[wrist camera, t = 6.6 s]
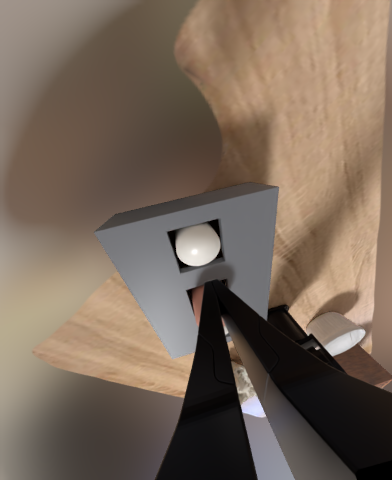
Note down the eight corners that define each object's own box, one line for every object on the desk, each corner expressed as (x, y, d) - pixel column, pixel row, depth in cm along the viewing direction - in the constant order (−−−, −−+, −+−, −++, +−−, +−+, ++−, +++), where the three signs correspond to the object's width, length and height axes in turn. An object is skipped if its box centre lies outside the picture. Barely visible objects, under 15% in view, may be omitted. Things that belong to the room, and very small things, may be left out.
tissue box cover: (312, 351, 46) (347, 394, 37) (352, 338, 46) (394, 378, 38) (299, 380, 58) (322, 418, 49) (330, 370, 59) (359, 405, 50)
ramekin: (349, 310, 36) (376, 330, 32) (320, 335, 40) (339, 357, 36) (322, 305, 33) (347, 328, 28) (293, 334, 37) (311, 357, 32)
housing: (249, 182, 16) (278, 186, 12) (250, 304, 27) (265, 330, 23) (115, 214, 15) (93, 232, 11) (171, 327, 26) (172, 359, 22)
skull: (240, 425, 42) (212, 411, 30) (230, 388, 49) (205, 365, 37) (278, 411, 41) (266, 392, 29) (263, 376, 48) (248, 348, 36)
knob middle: (219, 269, 18) (234, 298, 14) (223, 292, 20) (236, 323, 16) (186, 278, 18) (192, 310, 14) (193, 301, 20) (199, 334, 16)
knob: (206, 209, 17) (217, 221, 13) (211, 240, 19) (222, 259, 15) (170, 218, 16) (170, 233, 12) (179, 248, 18) (182, 270, 14)
